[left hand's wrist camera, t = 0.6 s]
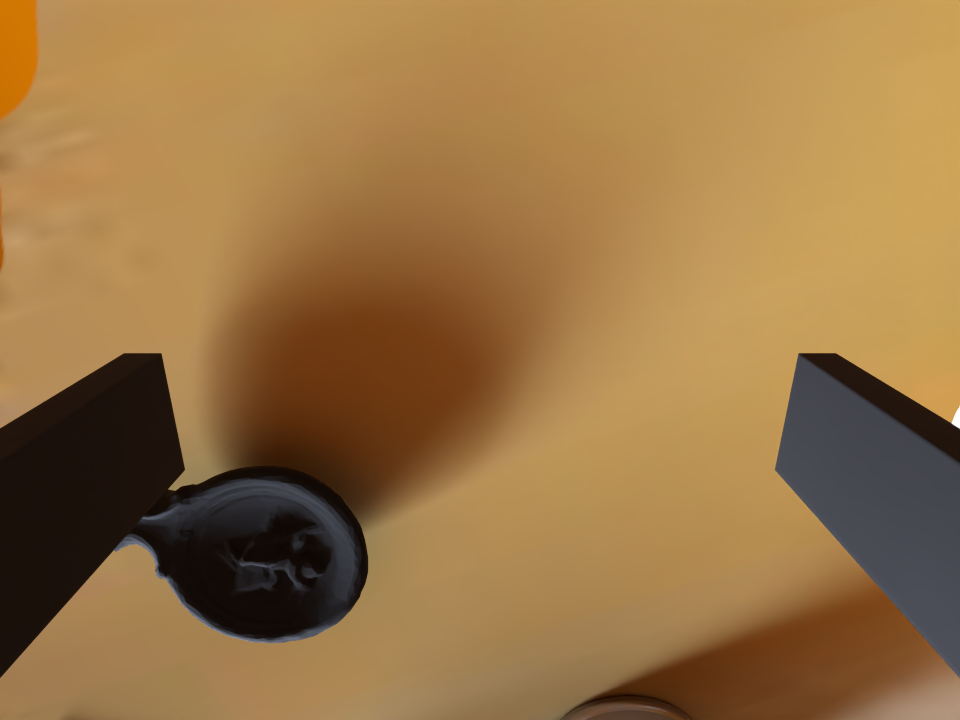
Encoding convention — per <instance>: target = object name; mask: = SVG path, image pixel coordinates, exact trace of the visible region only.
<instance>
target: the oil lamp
mask: <svg viewBox="0 0 960 720" xmlns="http://www.w3.org/2000/svg"><path fill="white" fill-rule="evenodd" d="M132 544H137V545H140V546H142V547H144V548H145V549H147V550H148V551H149V552H150V553H151V555H152V557H153V559H154V561H155V564H156V570H155V572H156V575H157V577H158V578H164V579H165V580H167V582H168V583H169V584H170V586H171V588H172V590H173V592H174V593H175V594H176V596H177V597H178V599H179V600H180V602H181V604H182V605H183V606H184V607H185V608H186V609H187V610H188V611H189V612H190V613H191V614H192V615H193V616H194V617H196V618H197V619H198V620H200V621H201V622H202V623H204V624H205V625H206V626H208V627H210V628H212V629H214V630H216V631H218V632H220V633H222V634H225V635H227V636H230V637H234V638H238V639H242V640H246V641H250V642H260V643H284V642H288V641H294V640H301V639H305V638H309V637H313V636H315V635H317V634H319V633H321V632H323V631H325V630H326V629H328V628H330V627H332V626H334V625H335V624H337V623H338V622H339V621H340V620H342V619H343V618H344V617H345V615H346V614H347V613H348V612H349V611H350V610H351V609H352V607H353V606H354V605H355V603H356V602H357V600H358V599H359V597H360V594H361V591H362V589H363V587H364V585H365V582H366V578H367V574H368V554H367V548H366V543H365V538H364V535H363V532H362V528H361V526H360V524H359V522H358V520H357V519H356V517H355V516H354V515H353V513H352V512H351V510H350V509H349V508H348V506H347V505H346V504H345V502H344V501H343V500H342V498H341V497H340V496H339V495H338V494H336V493H335V492H334V491H333V490H332V489H330V488H329V487H327V486H326V485H325V484H324V483H321V482H320V481H318V480H317V479H315V478H313V477H312V476H310V475H308V474H306V473H303V472H300V471H297V470H294V469H290V468H286V467H279V466H254V467H244V468H239V469H235V470H230V471H227V472H224V473H222V474H219V475H216V476H214V477H212V478H210V479H208V480H206V481H204V482H202V483H200V484H198V485H194V484H192V485H187V486H182V487H180V488H179V489H178V490H176V491H172V490H167V491H166V492H165V493H164V494H163V495H162V496H161V497H160V499H159V500H158V501H157V502H156V503H155V504H154V505H153V506H152V508H151V509H150V510H149V511H148V512H147V513H146V514H145V515H144V517H143V518H142V519H141V520H140V521H139V522H138V523H137V524H136V526H135V527H134V528H133V529H132V530H131V531H130V532H129V533H128V535H127V536H126V537H125V538H124V539H123V540H122V541H121V542H120V544H119V545H118V546H117V547H116V548H115V549H114V551H118V550H120V549H121V548H123V547H126V546H128V545H132Z"/></svg>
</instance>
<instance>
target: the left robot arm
mask: <svg viewBox="0 0 960 720" xmlns="http://www.w3.org/2000/svg"><path fill="white" fill-rule="evenodd" d="M184 470H185V468H184V463H183V458H182V453H181V448H180V443H179V438H178V433H177V428H176V423H175V418H174V413H173V408H172V403H171V398H170V394H169V389H168V384H167V379H166V374H165V369H164V364H163V359H162V354H161V353H124V354H122V355H121V356H119V357H117V358H116V359H114V360H112V361H111V362H109V363H107V364H106V365H104V366H103V367H101V368H99V369H98V370H96V371H94V372H93V373H91V374H89V375H88V376H86V377H84V378H83V379H81V380H79V381H78V382H76V383H74V384H73V385H71V386H70V387H68V388H66V389H65V390H63V391H61V392H60V393H58V394H56V395H55V396H53V397H51V398H50V399H48V400H46V401H45V402H43V403H41V404H40V405H38V406H37V407H35V408H33V409H32V410H30V411H28V412H27V413H25V414H23V415H22V416H20V417H18V418H17V419H15V420H13V421H12V422H10V423H8V424H7V425H5V426H4V427H2V428H0V678H1V676H2V675H3V674H4V673H5V672H6V671H7V670H8V669H9V667H10V666H11V665H12V664H13V663H14V662H15V661H16V660H17V658H18V657H19V656H20V655H21V654H22V653H23V652H24V651H25V649H26V648H27V647H28V646H29V645H30V644H31V643H32V642H33V640H34V639H35V638H36V637H37V636H38V635H39V634H40V633H41V631H42V630H43V629H44V628H45V627H46V626H47V625H48V624H49V622H50V621H51V620H52V619H53V618H54V617H55V616H56V614H57V613H58V612H59V611H60V610H61V609H62V608H63V607H64V605H65V604H66V603H67V602H68V601H69V600H70V599H71V598H72V596H73V595H74V594H75V593H76V592H77V591H78V590H79V589H80V587H81V586H82V585H83V584H84V583H85V582H86V581H87V580H88V578H89V577H90V576H91V575H92V574H93V573H94V572H95V571H96V569H97V568H98V567H99V566H100V565H101V564H102V563H103V562H104V560H105V559H106V558H107V557H108V556H109V555H110V554H111V553H112V551H113V550H114V549H115V548H116V547H117V546H118V545H119V544H120V542H121V541H122V540H123V539H124V538H125V537H126V536H127V535H128V533H129V532H130V531H131V530H132V529H133V528H134V527H135V526H136V524H137V523H138V522H139V521H140V520H141V519H142V518H143V517H144V515H145V514H146V513H147V512H148V511H149V510H150V509H151V508H152V506H153V505H154V504H155V503H156V502H157V501H158V500H159V499H160V497H161V496H162V495H163V494H164V493H165V492H166V491H167V490H168V488H169V487H170V486H171V485H172V484H173V483H174V482H175V481H176V479H177V478H178V477H179V476H180V475H181V474H182V473H183V472H184ZM775 470H776V472H777V473H778V474H779V475H780V476H781V477H782V478H783V479H784V481H785V482H786V483H787V484H788V485H789V486H790V487H791V488H792V490H793V491H794V492H795V493H796V494H797V495H798V496H799V497H800V499H801V500H802V501H803V502H804V503H805V504H806V505H807V506H808V508H809V509H810V510H811V511H812V512H813V513H814V514H815V515H816V517H817V518H818V519H819V520H820V521H821V522H822V523H823V524H824V526H825V527H826V528H827V529H828V530H829V531H830V532H831V533H832V535H833V536H834V537H835V538H836V539H837V540H838V541H839V542H840V544H841V545H842V546H843V547H844V548H845V549H846V550H847V551H848V553H849V554H850V555H851V556H852V557H853V558H854V559H855V560H856V562H857V563H858V564H859V565H860V566H861V567H862V568H863V569H864V571H865V572H866V573H867V574H868V575H869V576H870V577H871V578H872V580H873V581H874V582H875V583H876V584H877V585H878V586H879V587H880V589H881V590H882V591H883V592H884V593H885V594H886V595H887V596H888V598H889V599H890V600H891V601H892V602H893V603H894V604H895V605H896V607H897V608H898V609H899V610H900V611H901V612H902V613H903V614H904V616H905V617H906V618H907V619H908V620H909V621H910V622H911V624H912V625H913V626H914V627H915V628H916V629H917V630H918V631H919V633H920V634H921V635H922V636H923V637H924V638H925V639H926V640H927V642H928V643H929V644H930V645H931V646H932V647H933V648H934V649H935V651H936V652H937V653H938V654H939V655H940V656H941V657H942V658H943V660H944V661H945V662H946V663H947V664H948V665H949V666H950V667H951V669H952V670H953V671H954V672H955V673H956V674H957V675H958V676H959V678H960V428H958V427H956V426H955V425H953V424H952V423H950V422H948V421H947V420H945V419H943V418H942V417H940V416H938V415H937V414H935V413H933V412H932V411H930V410H928V409H927V408H925V407H923V406H922V405H920V404H919V403H917V402H915V401H914V400H912V399H910V398H909V397H907V396H905V395H904V394H902V393H900V392H899V391H897V390H895V389H894V388H892V387H890V386H889V385H887V384H886V383H884V382H882V381H881V380H879V379H877V378H876V377H874V376H872V375H871V374H869V373H867V372H866V371H864V370H862V369H861V368H859V367H857V366H856V365H854V364H853V363H851V362H849V361H848V360H846V359H844V358H843V357H841V356H839V355H838V354H836V353H799V354H798V359H797V364H796V369H795V374H794V379H793V384H792V389H791V394H790V398H789V403H788V408H787V413H786V418H785V423H784V428H783V433H782V438H781V443H780V448H779V453H778V458H777V463H776V467H775ZM560 720H691V719H690V718H689V717H688V716H687V715H686V714H684V713H683V712H682V711H680V710H679V709H677V708H675V707H674V706H672V705H669V704H667V703H665V702H662V701H659V700H655V699H651V698H646V697H638V696H618V697H610V698H605V699H600V700H596V701H593V702H590V703H587V704H585V705H583V706H580V707H578V708H576V709H574V710H573V711H571V712H569V713H568V714H566V715H565V716H564V717H562V718H561V719H560Z"/></svg>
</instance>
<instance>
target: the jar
mask: <svg viewBox="0 0 960 720" xmlns="http://www.w3.org/2000/svg"><path fill="white" fill-rule="evenodd" d="M952 424H953V425H955V426H956V427H958V428H960V406H959V408H958V410H957V412H956V414H955V416H954V419H953V422H952Z"/></svg>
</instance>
